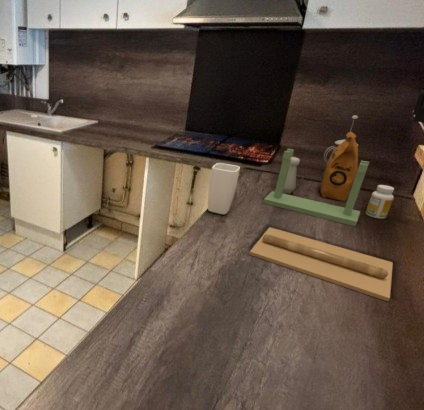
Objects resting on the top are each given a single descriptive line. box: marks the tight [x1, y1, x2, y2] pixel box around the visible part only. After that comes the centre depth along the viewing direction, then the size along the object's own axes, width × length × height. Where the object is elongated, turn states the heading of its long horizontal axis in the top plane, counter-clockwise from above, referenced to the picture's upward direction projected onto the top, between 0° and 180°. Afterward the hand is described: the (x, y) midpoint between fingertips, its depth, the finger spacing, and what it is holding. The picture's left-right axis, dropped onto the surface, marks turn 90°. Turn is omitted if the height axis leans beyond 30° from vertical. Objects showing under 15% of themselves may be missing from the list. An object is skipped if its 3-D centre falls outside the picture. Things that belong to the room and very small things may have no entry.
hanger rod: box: [262, 234, 388, 278], centre depth 87 cm, size 26×2×2 cm
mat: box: [248, 226, 394, 303], centre depth 89 cm, size 28×18×1 cm, turn 50°
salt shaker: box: [283, 156, 301, 195], centre depth 129 cm, size 6×6×13 cm
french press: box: [323, 114, 359, 164], centre depth 145 cm, size 10×12×25 cm
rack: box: [262, 148, 370, 227], centre depth 114 cm, size 26×10×18 cm, turn 50°
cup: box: [207, 162, 241, 216], centre depth 112 cm, size 7×7×15 cm
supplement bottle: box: [365, 184, 395, 220], centre depth 112 cm, size 5×5×10 cm
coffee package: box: [320, 131, 359, 202], centre depth 125 cm, size 10×12×22 cm
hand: (419, 118), depth 95 cm, fingers open, 13 cm apart
